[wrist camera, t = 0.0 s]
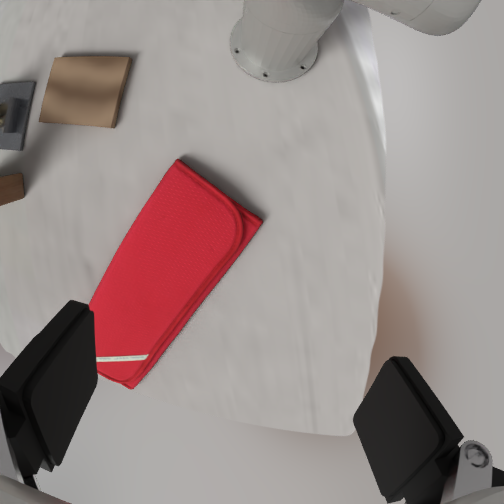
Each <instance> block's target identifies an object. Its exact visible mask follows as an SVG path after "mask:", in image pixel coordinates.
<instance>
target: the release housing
mask: <svg viewBox="0 0 504 504" xmlns="http://www.w3.org/2000/svg"><path fill="white" fill-rule="evenodd" d="M35 84H36V82H22V83H10V84H0V149H6V150H18V151H22V150H23V143H24V137H25V131H26V125H27V120H28V115H29V110H30V105H31V101H32V96H33V92H34V88H35Z"/></svg>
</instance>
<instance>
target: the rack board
mask: <svg viewBox="0 0 504 504" xmlns="http://www.w3.org/2000/svg"><path fill="white" fill-rule="evenodd" d="M131 63H132V59H131V58H130V57H112V56H81V57H58V58H55V59H54V62H53V65H52V69H51V72H50V76H49V79H48V83H47V87H46V91H45V95H44V99H43V104H42V108H41V113H40V118H39V122H44V123H62V124H75V125H87V126H97V127H107V128H115V124H116V119H117V115H118V111H119V106H120V102H121V98H122V94H123V91H124V87H125V83H126V80H127V76H128V73H129V69H130V66H131Z"/></svg>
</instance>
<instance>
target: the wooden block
mask: <svg viewBox="0 0 504 504" xmlns="http://www.w3.org/2000/svg"><path fill="white" fill-rule="evenodd" d="M23 198H24V187H23V175H22V173H17V174H12V175H7V176H2V177H0V206H2V205H5V204H8V203H11V202H14V201H17V200H20V199H23Z"/></svg>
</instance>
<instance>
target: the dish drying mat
mask: <svg viewBox="0 0 504 504" xmlns="http://www.w3.org/2000/svg"><path fill="white" fill-rule="evenodd" d="M262 223H263V221H262V219H261V218H259V217H258V216H256V215H254V214H253V213H251V212H250V211H248V210H247V209H245V208H243V207H242V206H241V205H240V204H238V203H237V202H236V201H234V200H233V199H231V198H230V197H228V196H227V195H226V194H225V193H223V192H222V191H221V190H219V189H218V188H217V187H215V186H214V185H213V184H211V183H210V182H208V181H207V180H206V179H204V178H203V177H202V176H200V175H199V174H198V173H196V172H195V171H194V170H192V169H191V168H190V167H189V166H187V165H186V164H185V163H184V162H182V161H181V160H179V159H176V160H175V162H174V164H173V165H172V166H171V167H170V168H169V170H168V171H167V172H166V174H165V175H164V177H163V178H162V180H161V181H160V183H159V185H158V186H157V188H156V189H155V191H154V192H153V194H152V195H151V197H150V198H149V200H148V201H147V203H146V204H145V206H144V207H143V208H142V210H141V212H140V213H139V215H138V216H137V218H136V220H135V221H134V223H133V225H132V226H131V228H130V229H129V231H128V233H127V234H126V236H125V238H124V239H123V241H122V243H121V245H120V246H119V248H118V250H117V251H116V253H115V255H114V257H113V259H112V261H111V263H110V265H109V266H108V268H107V270H106V272H105V274H104V276H103V278H102V280H101V282H100V283H99V285H98V287H97V289H96V291H95V293H94V295H93V297H92V299H91V301H90V303H89V308H90V310H91V311H93V312H94V321H95V346H96V362H97V373H98V374H100V375H102V376H103V377H105V378H107V379H109V380H111V381H114V382H117V383H120V384H122V385H123V386H125V387H127V388H128V389H134V387H136V386H137V384H138V383H139V382H140V381H141V380H142V379H143V377H144V376H145V375H146V374H147V373H148V372H149V371H150V369H151V368H152V367H153V366H154V364H155V363H156V362H157V360H158V359H159V358H160V356H161V355H162V354H163V352H164V351H165V350H166V349H167V347H168V346H169V345H170V343H171V342H172V341H173V340H174V338H175V337H176V336H177V335H178V333H179V332H180V331H181V329H182V328H183V327H184V325H185V324H186V323H187V321H188V320H189V319H190V317H191V316H192V315H193V313H194V312H195V311H196V309H197V308H198V307H199V306H200V304H201V303H202V302H203V300H204V299H205V298H206V297H207V295H208V294H209V293H210V292H211V291H212V289H213V288H214V287H215V286H216V284H217V283H218V282H219V281H220V279H221V278H222V277H223V276H224V274H225V273H226V272H227V270H228V269H229V268H230V267H231V265H232V264H233V263H234V261H235V260H236V259H237V257H238V256H239V255H240V253H241V252H242V251H243V249H244V248H245V247H246V245H247V244H248V242H249V241H250V240H251V239H252V237H253V236H254V234H255V233H256V231H257V230H258V229H259V227H260V226H261V224H262Z"/></svg>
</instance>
